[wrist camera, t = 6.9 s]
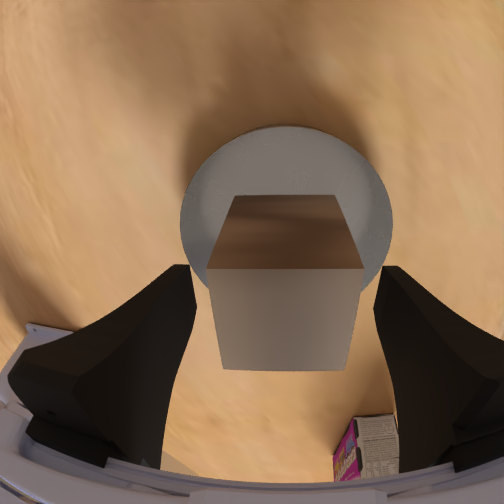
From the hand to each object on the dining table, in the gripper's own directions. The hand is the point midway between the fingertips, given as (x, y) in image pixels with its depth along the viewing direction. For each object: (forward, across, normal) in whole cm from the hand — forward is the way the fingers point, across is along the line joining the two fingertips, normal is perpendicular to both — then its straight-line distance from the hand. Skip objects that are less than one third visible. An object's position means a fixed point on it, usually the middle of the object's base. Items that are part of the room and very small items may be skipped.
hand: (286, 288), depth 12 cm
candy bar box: (+7, -10, +26) cm, 29 cm away
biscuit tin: (+7, 0, 0) cm, 7 cm away
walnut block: (+4, 0, 0) cm, 4 cm away
